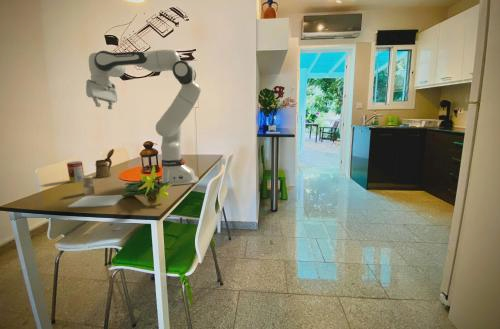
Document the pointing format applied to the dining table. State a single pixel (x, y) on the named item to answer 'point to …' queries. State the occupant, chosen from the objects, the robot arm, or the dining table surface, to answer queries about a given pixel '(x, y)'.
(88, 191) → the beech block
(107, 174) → the wooden mug
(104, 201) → the grey-blue mat
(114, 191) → the dining table surface
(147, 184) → the daffodil flowers
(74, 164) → the canned food
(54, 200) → the dining table surface
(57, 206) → the dining table surface
